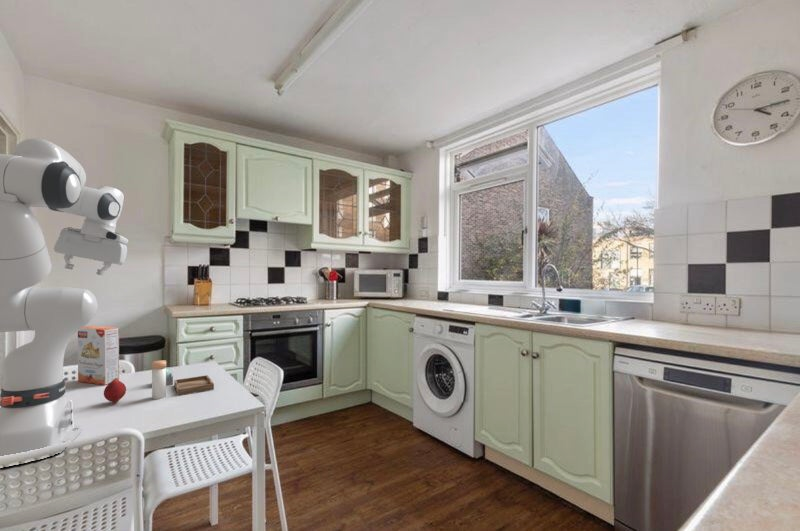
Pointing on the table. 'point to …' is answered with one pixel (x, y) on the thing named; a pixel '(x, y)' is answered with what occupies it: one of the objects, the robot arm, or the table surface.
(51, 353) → the robot arm
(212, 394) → the table surface
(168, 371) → the button
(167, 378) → the button housing
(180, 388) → the tray
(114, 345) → the cracker box
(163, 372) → the white bottle
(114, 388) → the onion
